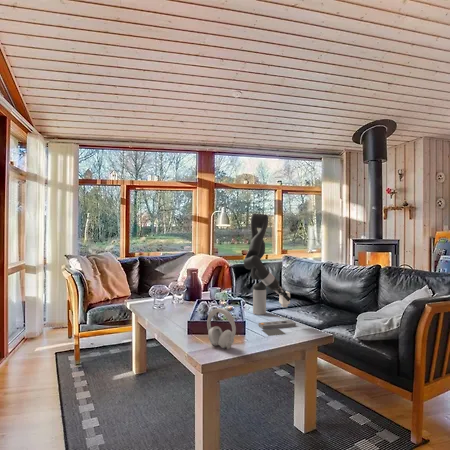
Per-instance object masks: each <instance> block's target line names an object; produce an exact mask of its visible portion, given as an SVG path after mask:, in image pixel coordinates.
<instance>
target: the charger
mask: <svg viewBox="0 0 450 450" xmlns="http://www.w3.org/2000/svg"><path fill="white" fill-rule="evenodd" d="M284 291H285V292H286V293H287V294H288V297H289V298H290V300H289V301H287V300H286V299H285V298H284V297H283V296H282V295H280V294H281V293H280V294H278V296H279V297H278V298H279V299H278V303H279V304H281V305H280V306H281V307H282V308H288V307H289V305H290V304H291V292H289V291H287V290H284ZM284 295H285V294H284Z"/></svg>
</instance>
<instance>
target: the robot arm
mask: <svg viewBox="0 0 450 450" xmlns="http://www.w3.org/2000/svg"><path fill="white" fill-rule="evenodd" d="M268 224H269V216H268V215H267V214H264V213H263V214H262V213H252V215H251V218H250V228H251V240H250V243H249V246H248V251H247V252H246V255H245V257H244V259H243V266H244V268H245V269H246V270H250V275H251V279H252V280H255V281H256V280H257V281H258V280H260V281H259V282H258V283H254V284H253V286H252V291H253V292H252V314H254V315H258V316H259V315H266V313H267V289H268V290H270V291H273V292H275V293H276V294H277V295H279V294H280V293H281V294H280V295H282V296H283V297H284V298H285V299H286V300H287V301H289V300H290V301H291V297H290V298H289V297H288V294H287V293H286V292H285V291H286V290H285V289H284V288H282V287H281V286H279V284H280V281H279V280H278V279H277V278H276V277H275V275H273V274H272V273H271V272H270V271H269V270H268V269H267V267H266V266H265V265H264V263H263V262H262V260H261V259H262V258H263V256H264V255H265V253H266V243H265V241H264V237H265V235H266V231H267V228H268ZM258 229H259V231H258ZM284 294H285V295H284Z"/></svg>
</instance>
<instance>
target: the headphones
mask: <svg viewBox="0 0 450 450" xmlns="http://www.w3.org/2000/svg"><path fill="white" fill-rule="evenodd" d="M217 313H220V314H222V315H224V316H225V318H226V319H227V320H228V322H229V324H230V325H231V330H230V329H226V330H224V331H223V330H222V328H221V327H220V326H218V325H215V326H212V325H211V322H212V319H213V317H214V316H215V315H216V314H217ZM206 326H207V328H206V329H207V331H208V332H207V333H208V334H207V335H208V341H209V342H210V344H211V345H212V346H220V347H221V348H222V349H226V350H230V349H231V347H232V345H233V344H234V342H235V337H236V333H237V327H236V323H235V319H234V316H233V315H232V314H231V313H230V311H229V310H227V309H225V308H222V307H218V308H215V309H212V310H211V311H210V312H209V314H208V316H207V320H206Z"/></svg>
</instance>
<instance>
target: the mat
mask: <svg viewBox="0 0 450 450" xmlns="http://www.w3.org/2000/svg"><path fill="white" fill-rule="evenodd" d="M261 331H262V332H263V333H264V334H266V335H267V336H268V337H270V336H272V337H273V336H280V335H281V336H282V335H287V333H286V332H284V331H282V330H281V328H272V329H261Z"/></svg>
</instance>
